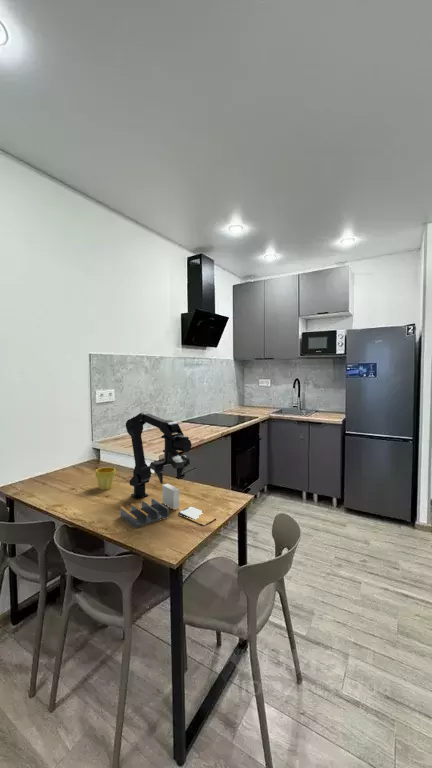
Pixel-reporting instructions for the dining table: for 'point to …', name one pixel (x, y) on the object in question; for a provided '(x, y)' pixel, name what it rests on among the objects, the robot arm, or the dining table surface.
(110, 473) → the plant pot
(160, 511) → the rack
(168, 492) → the panel
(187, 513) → the phone case
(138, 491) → the robot arm
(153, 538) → the dining table surface
